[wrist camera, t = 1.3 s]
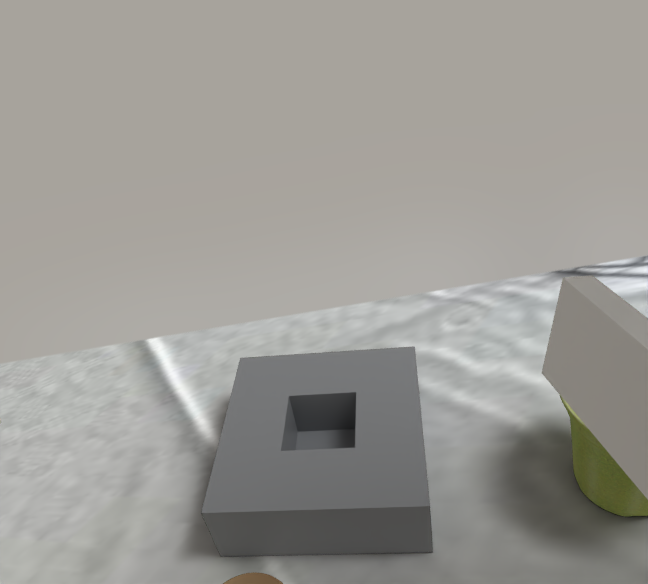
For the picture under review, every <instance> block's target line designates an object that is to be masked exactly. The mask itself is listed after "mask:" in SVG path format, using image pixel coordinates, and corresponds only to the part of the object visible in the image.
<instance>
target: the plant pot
mask: <svg viewBox="0 0 648 584" xmlns="http://www.w3.org/2000/svg"><path fill="white" fill-rule="evenodd" d="M560 397H561V395H560ZM561 400H562V402H563V404H564V406H565V408H566V409H567V411H568V414H569V416H570V422H571V436H572V453H573V470H574V475H575V477H576V480H577V482H578V485H579V487H580V489H581V490H582V492H583V493H584V494H585V495H586V496H587V497H588V498H589V499H590V500H591V501H592V502H593V503H595V504H596V505H598V506H599V507H601V508H603V509H605V510H607V511H609V512H612V513H614V514H617V515H620V516H626V517H627V516H642V515H643V516H648V499H647V498H646V497H645V496H644V495H643V493H642V492H641V491H640V490H639V489H638V487H637V486H636V485H635V484H634V483H633V481H632V480H631V479H630V478H629V477H628V475H627V474H626V473H625V472H624V471H623V469H622V468H621V467H620V466H619V465H618V463H617V462H616V461H615V460H614V459H613V458H612V456H611V455H610V454H609V453H608V452H607V450H606V449H605V448H604V447H603V446H602V444H601V443H600V442H599V441H598V440H597V438H596V437H595V436H594V435H593V434H592V432H591V431H590V430H589V429H588V428H587V426H586V425H585V424H584V423H583V422H582V420H581V419H580V418H579V417H578V416H577V415H576V413H575V412H574V411H573V410H572V409H571V407H570V406H569V405H568V404H567V403H566V401H565V400H564V399H563V398H562V397H561Z"/></svg>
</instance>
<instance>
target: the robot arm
mask: <svg viewBox="0 0 648 584" xmlns="http://www.w3.org/2000/svg"><path fill="white" fill-rule="evenodd" d="M542 374H543V375H544V376H545V377H546V379H547V380H548V381H549V382H550V383H551V385H552V386H553V387H554V388H555V389H556V391H557V392H558V393H559V394H560V395H561V397H562V398H563V399H564V400H565V401H566V403H567V404H568V405H569V406H570V407H571V409H572V410H573V411H574V412H575V413H576V415H577V416H578V417H579V418H580V419H581V420H582V422H583V423H584V424H585V425H586V426H587V428H588V429H589V430H590V431H591V432H592V434H593V435H594V436H595V437H596V438H597V440H598V441H599V442H600V443H601V444H602V446H603V447H604V448H605V449H606V450H607V452H608V453H609V454H610V455H611V456H612V458H613V459H614V460H615V461H616V462H617V463H618V465H619V466H620V467H621V468H622V469H623V471H624V472H625V473H626V474H627V475H628V477H629V478H630V479H631V480H632V481H633V483H634V484H635V485H636V486H637V487H638V489H639V490H640V491H641V492H642V493H643V495H644V496H645V497H646V498H647V499H648V318H647V317H645V316H644V315H643V314H641V313H640V312H639V311H637V310H636V309H635V308H634V307H632V306H631V305H630V304H628V303H627V302H626V301H625V300H623V299H622V298H621V297H619V296H618V295H617V294H616V293H614V292H613V291H612V290H610V289H609V288H608V287H607V286H605V285H604V284H603V283H601V282H600V281H599V280H597V279H596V278H595V277H594V276H581V277H565V278H563V280H562V284H561V289H560V293H559V298H558V302H557V307H556V311H555V316H554V320H553V325H552V329H551V334H550V338H549V343H548V347H547V352H546V356H545V361H544V365H543V370H542ZM1 423H2V422H1V419H0V425H1Z"/></svg>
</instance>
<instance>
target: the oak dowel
mask: <svg viewBox="0 0 648 584" xmlns="http://www.w3.org/2000/svg"><path fill="white" fill-rule="evenodd" d="M223 584H283V583H282V582H281V581H279V580H278V579H276V578H274V577H272V576H270V575H267V574H263V573H246V574H242V575H239V576H236V577H234V578H232V579H229V580H228V581H226V582H225V583H223Z"/></svg>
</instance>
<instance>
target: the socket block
mask: <svg viewBox="0 0 648 584" xmlns="http://www.w3.org/2000/svg"><path fill="white" fill-rule="evenodd" d="M201 514H202V516H203V518H204V521H205V523H206V525H207V527H208V529H209V532H210V534H211V536H212V538H213V540H214V543H215V545H216V547H217V549H218V551H219V554H220V556H269V555H318V554H368V553H418V552H433V547H432V531H431V514H430V501H429V491H428V480H427V470H426V460H425V449H424V439H423V428H422V418H421V408H420V397H419V387H418V377H417V366H416V356H415V347H401V348H386V349H371V350H355V351H340V352H325V353H310V354H294V355H279V356H264V357H249V358H240V361H239V365H238V369H237V373H236V377H235V381H234V385H233V389H232V393H231V397H230V401H229V405H228V409H227V413H226V417H225V421H224V425H223V429H222V432H221V436H220V440H219V444H218V448H217V452H216V456H215V460H214V464H213V468H212V472H211V476H210V480H209V484H208V488H207V492H206V496H205V500H204V504H203V507H202V511H201Z"/></svg>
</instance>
